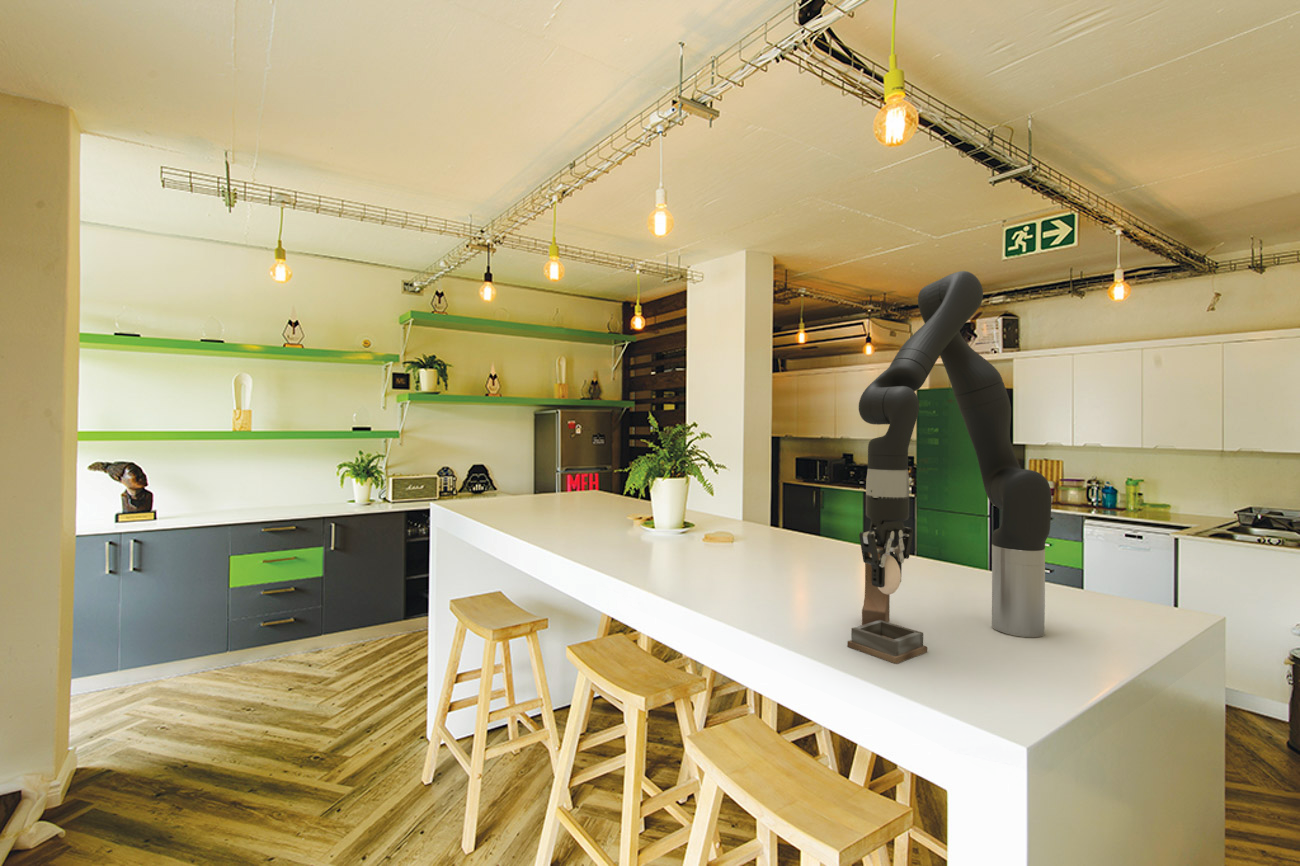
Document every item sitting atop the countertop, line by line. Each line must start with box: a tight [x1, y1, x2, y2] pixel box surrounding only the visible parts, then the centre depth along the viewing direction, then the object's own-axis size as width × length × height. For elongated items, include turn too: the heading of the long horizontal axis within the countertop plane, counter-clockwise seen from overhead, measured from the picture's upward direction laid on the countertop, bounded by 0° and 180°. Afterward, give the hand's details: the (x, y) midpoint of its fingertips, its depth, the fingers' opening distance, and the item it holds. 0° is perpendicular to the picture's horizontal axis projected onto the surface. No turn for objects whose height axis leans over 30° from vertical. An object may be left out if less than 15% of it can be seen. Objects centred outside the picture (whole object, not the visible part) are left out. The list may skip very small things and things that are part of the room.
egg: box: [878, 555, 902, 595], centre depth 109 cm, size 5×5×7 cm
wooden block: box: [861, 547, 891, 625], centre depth 122 cm, size 9×4×18 cm, turn 152°
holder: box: [846, 620, 928, 665], centre depth 109 cm, size 10×10×4 cm
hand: (886, 584), depth 109 cm, fingers closed on egg, 4 cm apart
